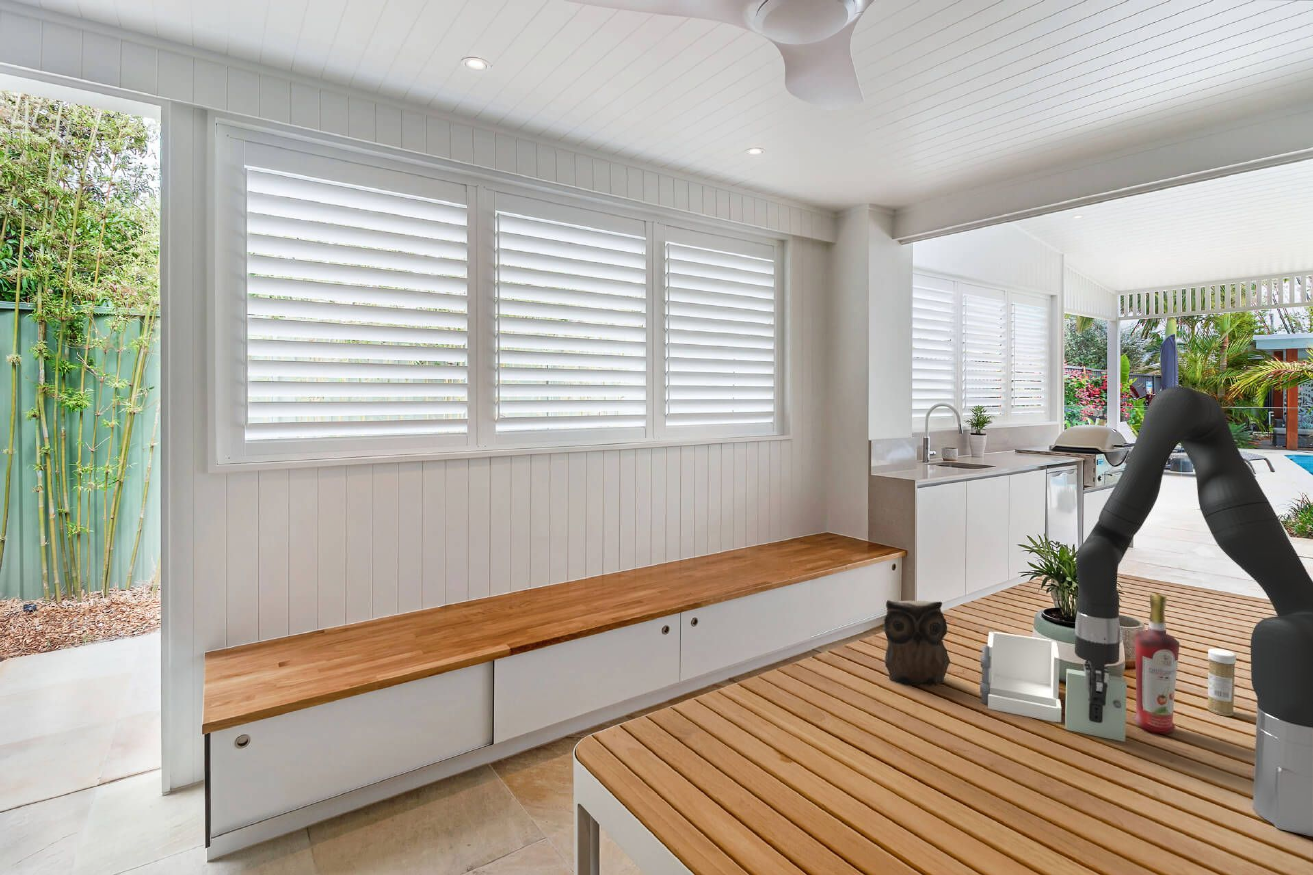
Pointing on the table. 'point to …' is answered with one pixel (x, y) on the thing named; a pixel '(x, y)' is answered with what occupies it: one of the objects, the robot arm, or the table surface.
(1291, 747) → the robot arm
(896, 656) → the owl
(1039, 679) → the cabinet
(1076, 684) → the door
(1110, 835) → the table surface
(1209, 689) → the sprinkles bottle
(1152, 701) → the liquor
